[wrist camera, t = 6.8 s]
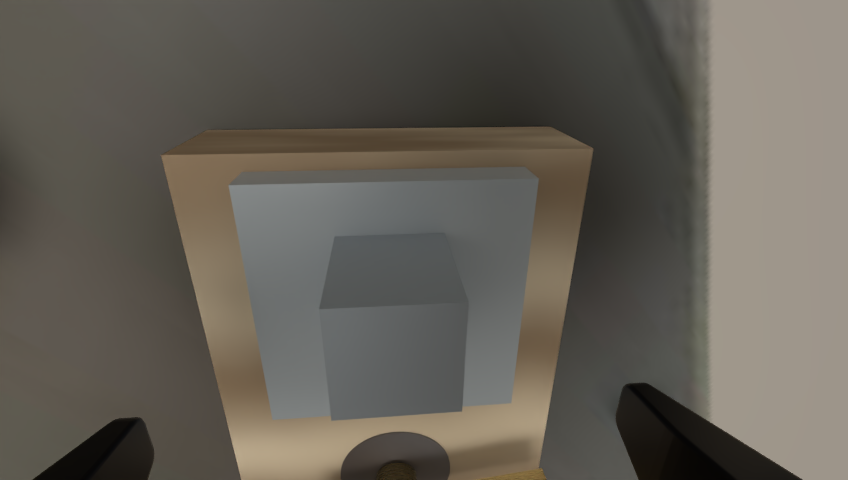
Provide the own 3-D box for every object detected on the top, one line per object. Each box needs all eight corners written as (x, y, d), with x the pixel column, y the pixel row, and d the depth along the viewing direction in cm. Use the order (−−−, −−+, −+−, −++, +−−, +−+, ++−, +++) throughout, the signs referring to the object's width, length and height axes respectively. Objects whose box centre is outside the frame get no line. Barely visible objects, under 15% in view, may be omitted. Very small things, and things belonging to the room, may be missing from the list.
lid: (502, 378, 16) (546, 500, 12) (280, 393, 15) (243, 528, 11) (524, 166, 13) (599, 230, 8) (241, 172, 12) (167, 245, 8)
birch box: (510, 440, 23) (532, 508, 19) (272, 459, 21) (253, 534, 18) (550, 126, 16) (595, 149, 13) (207, 130, 15) (159, 156, 12)
